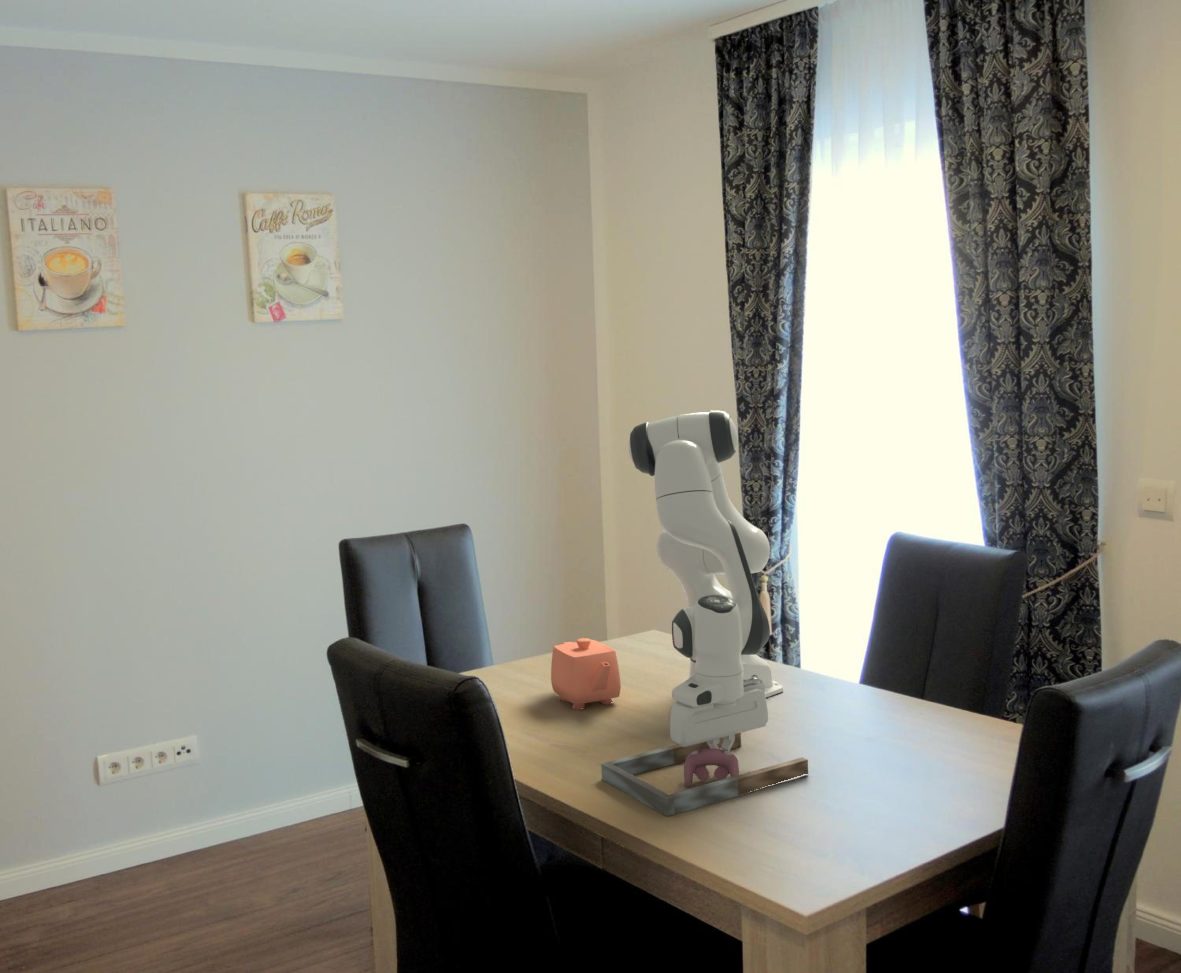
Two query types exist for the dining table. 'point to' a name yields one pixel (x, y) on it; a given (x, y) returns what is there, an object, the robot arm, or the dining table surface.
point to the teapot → (585, 672)
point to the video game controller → (710, 757)
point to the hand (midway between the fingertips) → (721, 759)
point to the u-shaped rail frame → (670, 804)
